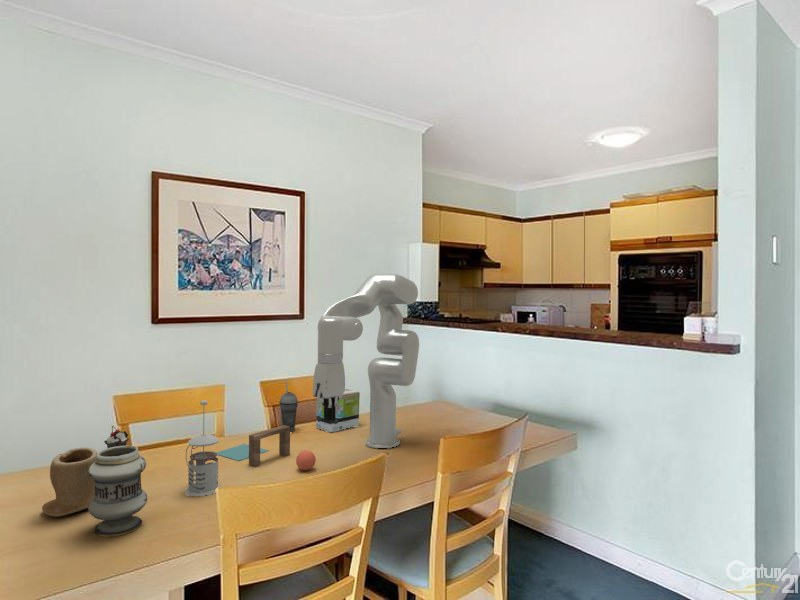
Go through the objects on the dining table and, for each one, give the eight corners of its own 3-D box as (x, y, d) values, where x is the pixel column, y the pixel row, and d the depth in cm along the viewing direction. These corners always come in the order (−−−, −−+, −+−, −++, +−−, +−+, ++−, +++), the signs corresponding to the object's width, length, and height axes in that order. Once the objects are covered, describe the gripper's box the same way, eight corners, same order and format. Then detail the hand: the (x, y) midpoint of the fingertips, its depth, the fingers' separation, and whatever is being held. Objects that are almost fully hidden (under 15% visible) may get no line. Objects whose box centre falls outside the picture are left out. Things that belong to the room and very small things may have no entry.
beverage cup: (293, 434, 197) (293, 383, 197) (275, 433, 198) (276, 382, 198) (300, 429, 204) (301, 380, 204) (283, 428, 205) (284, 379, 205)
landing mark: (244, 444, 183) (244, 443, 183) (269, 450, 176) (269, 450, 176) (213, 453, 172) (213, 453, 172) (238, 461, 165) (238, 460, 165)
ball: (305, 465, 162) (305, 446, 162) (319, 469, 159) (319, 449, 159) (291, 470, 157) (292, 451, 157) (306, 474, 154) (306, 454, 154)
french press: (199, 499, 134) (199, 405, 134) (172, 490, 141) (173, 400, 140) (229, 488, 143) (230, 399, 142) (203, 479, 149) (203, 394, 149)
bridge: (248, 465, 161) (249, 435, 161) (283, 453, 174) (283, 425, 174) (255, 467, 160) (255, 436, 160) (289, 455, 172) (290, 426, 172)
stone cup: (55, 526, 119) (55, 462, 118) (36, 512, 126) (36, 452, 126) (122, 504, 131) (122, 446, 131) (101, 493, 138) (101, 438, 138)
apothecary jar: (77, 530, 117) (77, 452, 116) (128, 511, 127) (129, 439, 127) (106, 544, 110) (106, 462, 110) (157, 523, 120) (158, 448, 120)
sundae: (103, 479, 148) (103, 428, 148) (104, 471, 154) (104, 422, 154) (128, 475, 151) (129, 425, 151) (129, 468, 157) (129, 420, 157)
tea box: (331, 433, 199) (332, 396, 199) (315, 428, 206) (316, 392, 206) (359, 426, 210) (360, 391, 210) (343, 422, 217) (344, 387, 217)
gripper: (336, 355, 161) (336, 413, 161) (303, 360, 148) (302, 423, 148) (355, 357, 157) (354, 416, 157) (322, 362, 144) (322, 427, 144)
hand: (329, 419), depth 153 cm, fingers closed
